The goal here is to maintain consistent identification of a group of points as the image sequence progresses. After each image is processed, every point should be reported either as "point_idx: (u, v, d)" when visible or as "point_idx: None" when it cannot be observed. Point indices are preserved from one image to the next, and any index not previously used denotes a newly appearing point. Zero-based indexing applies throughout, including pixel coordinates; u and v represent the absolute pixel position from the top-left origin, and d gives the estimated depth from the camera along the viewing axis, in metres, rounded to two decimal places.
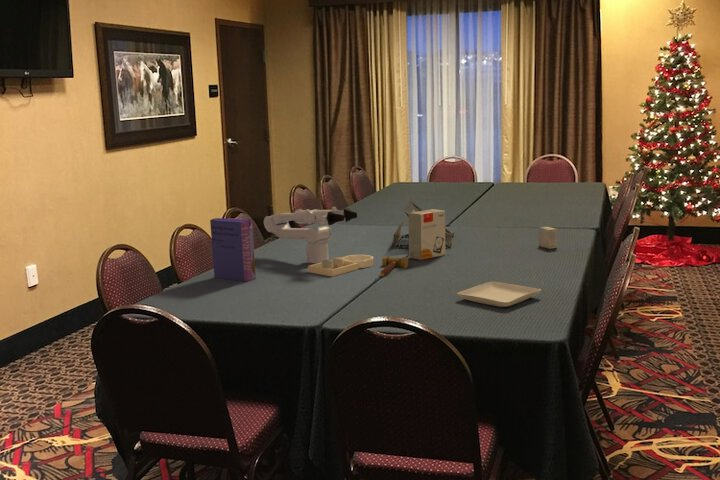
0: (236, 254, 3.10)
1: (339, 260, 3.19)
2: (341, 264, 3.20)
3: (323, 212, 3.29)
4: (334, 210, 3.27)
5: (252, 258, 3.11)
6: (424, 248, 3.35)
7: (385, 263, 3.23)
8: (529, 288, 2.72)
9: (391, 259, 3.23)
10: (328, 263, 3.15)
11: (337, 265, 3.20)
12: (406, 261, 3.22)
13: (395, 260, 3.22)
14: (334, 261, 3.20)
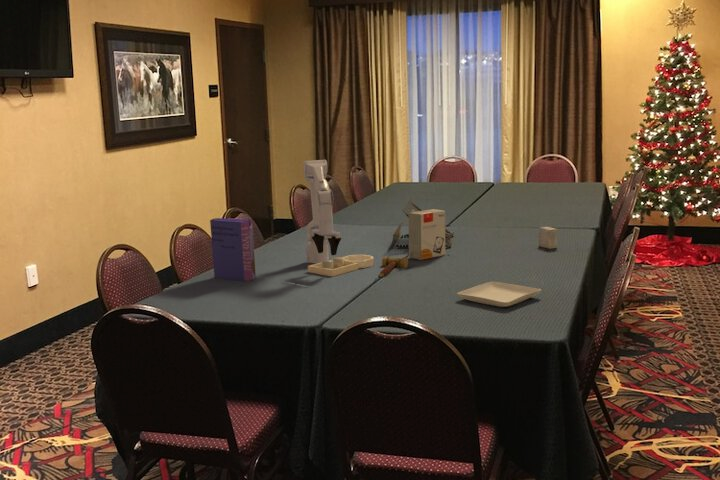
0: (236, 254, 3.10)
1: (339, 260, 3.19)
2: (341, 264, 3.20)
3: (318, 221, 3.14)
4: None
5: (252, 258, 3.11)
6: (424, 248, 3.35)
7: (385, 263, 3.23)
8: (529, 288, 2.72)
9: (391, 259, 3.23)
10: (328, 263, 3.15)
11: (337, 265, 3.20)
12: (406, 261, 3.22)
13: (395, 260, 3.22)
14: (334, 261, 3.20)
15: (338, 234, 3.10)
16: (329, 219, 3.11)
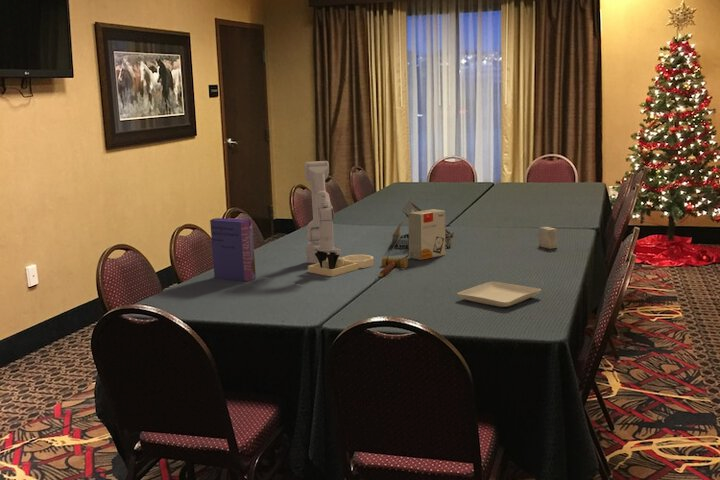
0: (236, 254, 3.10)
1: (339, 260, 3.19)
2: (341, 264, 3.20)
3: (319, 237, 3.15)
4: None
5: (252, 258, 3.11)
6: (424, 248, 3.35)
7: (385, 263, 3.23)
8: (529, 288, 2.72)
9: (391, 259, 3.23)
10: (328, 263, 3.15)
11: (337, 265, 3.20)
12: (406, 261, 3.22)
13: (395, 260, 3.22)
14: None
15: (339, 251, 3.11)
16: (330, 236, 3.13)
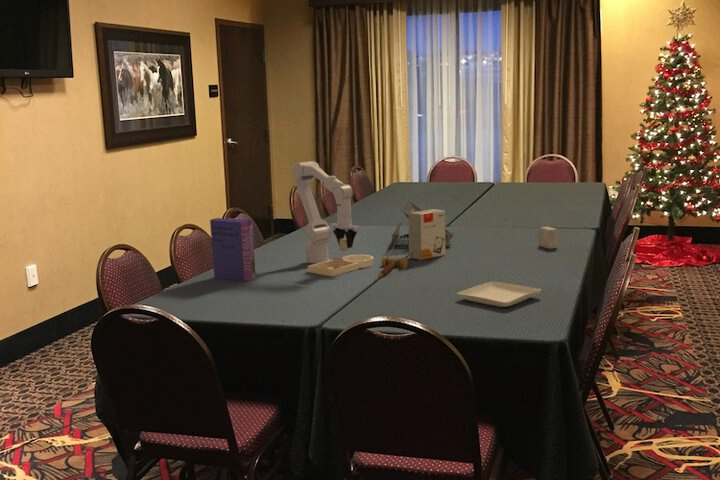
0: (236, 254, 3.10)
1: (339, 260, 3.19)
2: (341, 264, 3.20)
3: (337, 215, 3.22)
4: (339, 227, 3.22)
5: (252, 258, 3.11)
6: (424, 248, 3.35)
7: (384, 263, 3.23)
8: (529, 288, 2.72)
9: (390, 259, 3.23)
10: (345, 241, 3.22)
11: (337, 265, 3.20)
12: (405, 261, 3.21)
13: (394, 260, 3.22)
14: (334, 261, 3.20)
15: (356, 228, 3.18)
16: (350, 212, 3.21)
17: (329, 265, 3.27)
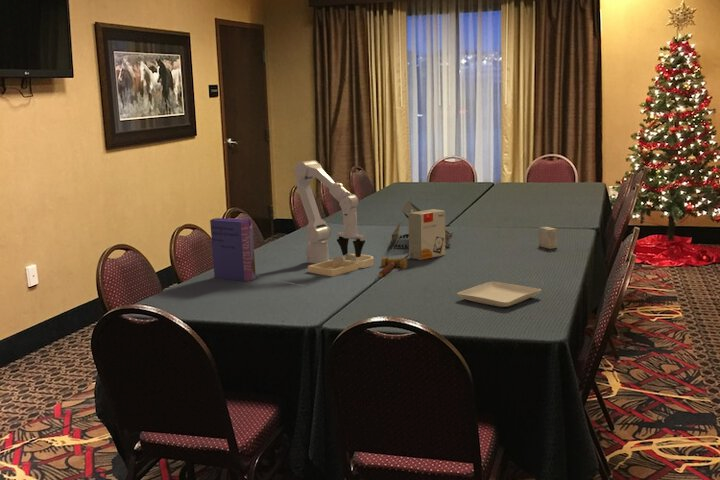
0: (236, 254, 3.10)
1: (339, 260, 3.19)
2: (341, 264, 3.20)
3: (343, 224, 3.26)
4: None
5: (252, 258, 3.11)
6: (424, 248, 3.35)
7: (384, 264, 3.23)
8: (529, 288, 2.72)
9: (390, 260, 3.22)
10: (351, 256, 3.26)
11: (337, 265, 3.20)
12: (405, 262, 3.21)
13: (394, 261, 3.22)
14: (334, 261, 3.20)
15: (362, 237, 3.22)
16: (356, 222, 3.25)
17: (329, 265, 3.27)
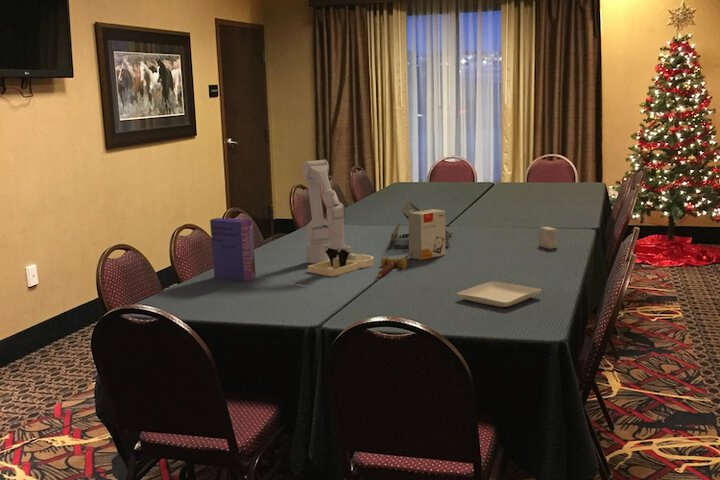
0: (236, 254, 3.10)
1: None
2: None
3: (330, 235, 3.19)
4: None
5: (252, 258, 3.11)
6: (424, 248, 3.35)
7: (384, 264, 3.22)
8: (529, 288, 2.72)
9: (390, 260, 3.22)
10: (352, 256, 3.26)
11: (337, 265, 3.20)
12: (405, 262, 3.21)
13: (394, 261, 3.21)
14: (334, 261, 3.20)
15: (349, 248, 3.15)
16: (342, 233, 3.17)
17: (329, 265, 3.27)
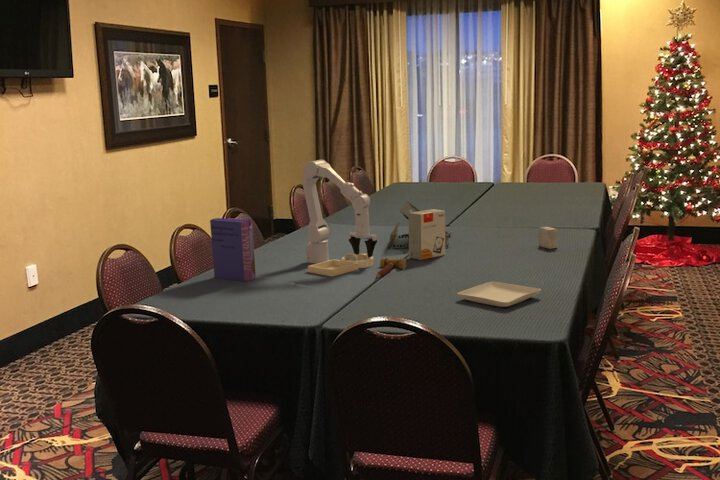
0: (236, 254, 3.10)
1: (364, 256, 3.25)
2: None
3: (355, 224, 3.25)
4: (357, 236, 3.25)
5: (252, 258, 3.11)
6: (424, 248, 3.35)
7: (383, 264, 3.22)
8: (529, 288, 2.72)
9: (389, 260, 3.22)
10: (351, 256, 3.26)
11: None
12: (404, 262, 3.20)
13: (393, 261, 3.21)
14: (359, 257, 3.26)
15: (375, 237, 3.21)
16: (368, 221, 3.25)
17: (329, 265, 3.27)
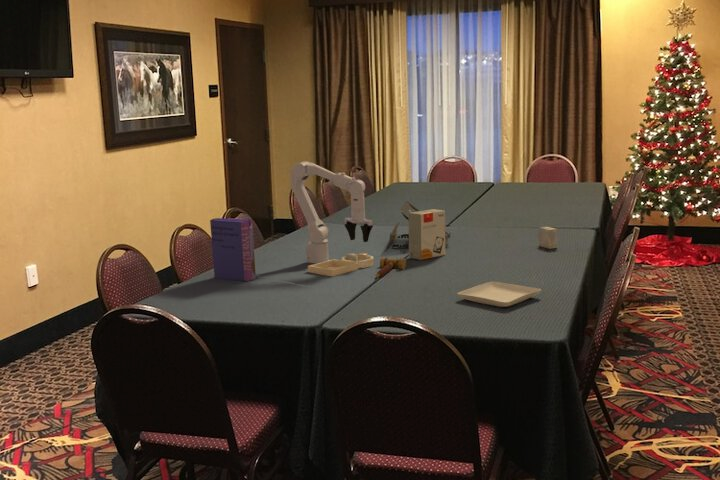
0: (236, 254, 3.10)
1: (364, 256, 3.25)
2: None
3: (351, 209, 3.29)
4: (353, 221, 3.28)
5: (252, 258, 3.11)
6: (424, 248, 3.35)
7: (383, 264, 3.22)
8: (529, 288, 2.72)
9: (389, 260, 3.22)
10: (352, 256, 3.26)
11: None
12: (404, 262, 3.20)
13: (393, 261, 3.21)
14: (359, 257, 3.26)
15: (370, 222, 3.25)
16: (364, 206, 3.29)
17: (329, 265, 3.27)
